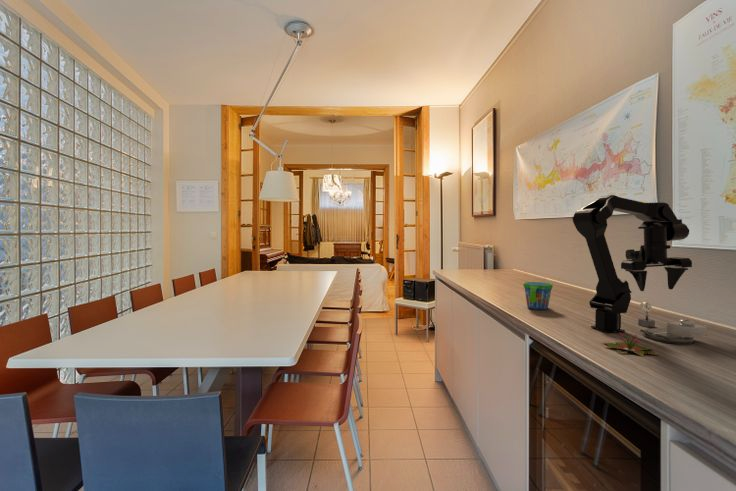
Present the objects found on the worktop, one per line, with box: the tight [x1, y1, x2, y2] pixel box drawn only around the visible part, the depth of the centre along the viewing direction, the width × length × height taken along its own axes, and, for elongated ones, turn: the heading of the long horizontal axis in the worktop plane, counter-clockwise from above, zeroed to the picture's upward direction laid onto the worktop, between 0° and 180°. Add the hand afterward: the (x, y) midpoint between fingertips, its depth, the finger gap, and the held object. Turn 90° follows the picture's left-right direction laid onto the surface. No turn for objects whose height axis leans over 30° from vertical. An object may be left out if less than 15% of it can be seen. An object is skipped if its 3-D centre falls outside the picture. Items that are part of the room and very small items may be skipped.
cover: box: [666, 318, 708, 338], centre depth 98 cm, size 6×6×4 cm
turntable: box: [639, 326, 695, 345], centre depth 100 cm, size 11×11×2 cm
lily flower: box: [603, 332, 661, 358], centre depth 90 cm, size 12×12×5 cm
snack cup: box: [523, 281, 554, 311], centre depth 139 cm, size 16×10×10 cm
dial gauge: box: [637, 301, 656, 328], centre depth 113 cm, size 3×3×8 cm
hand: (656, 290), depth 112 cm, fingers open, 9 cm apart
